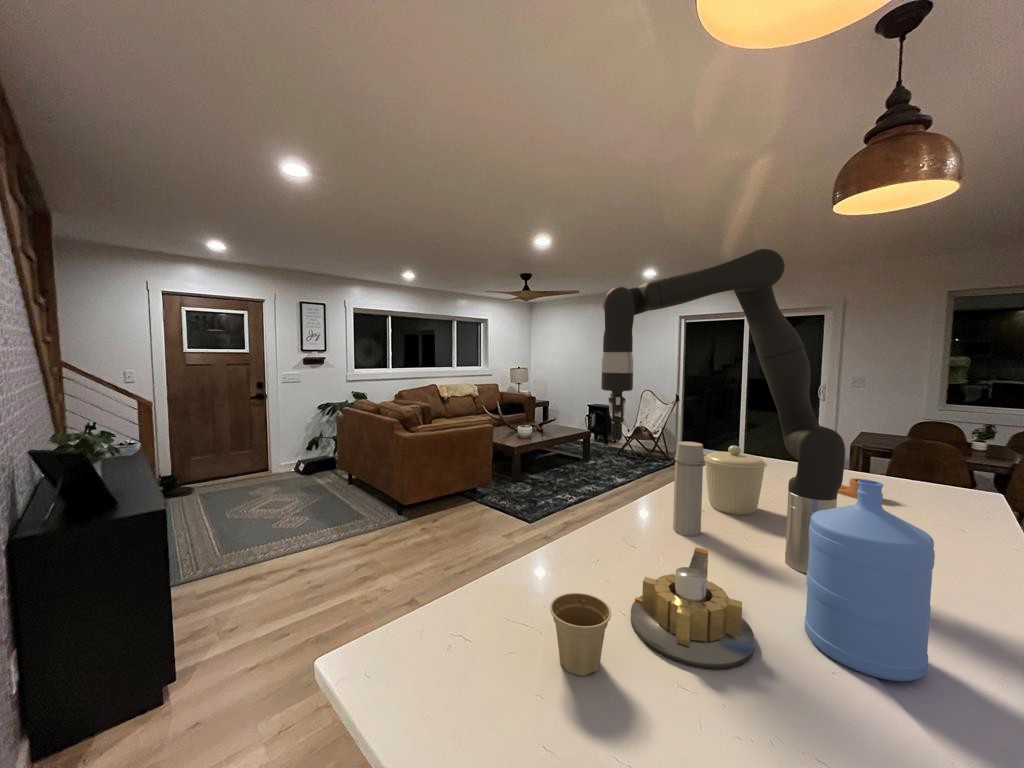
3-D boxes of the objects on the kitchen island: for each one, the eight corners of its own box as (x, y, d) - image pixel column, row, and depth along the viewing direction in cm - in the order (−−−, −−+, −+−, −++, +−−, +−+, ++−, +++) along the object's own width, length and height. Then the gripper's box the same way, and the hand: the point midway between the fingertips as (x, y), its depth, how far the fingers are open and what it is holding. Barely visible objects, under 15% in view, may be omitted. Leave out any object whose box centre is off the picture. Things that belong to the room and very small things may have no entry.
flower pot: (544, 643, 71) (545, 593, 70) (599, 640, 71) (600, 591, 71) (555, 686, 61) (556, 628, 61) (618, 682, 62) (619, 625, 62)
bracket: (885, 503, 145) (886, 483, 144) (869, 506, 142) (870, 486, 141) (829, 488, 162) (830, 471, 161) (815, 490, 159) (815, 472, 158)
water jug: (893, 698, 60) (904, 503, 58) (783, 632, 74) (790, 475, 73) (948, 667, 66) (960, 490, 64) (837, 612, 80) (845, 467, 79)
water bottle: (694, 540, 112) (697, 447, 111) (666, 531, 118) (669, 443, 117) (709, 531, 118) (712, 443, 117) (682, 523, 124) (685, 439, 123)
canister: (765, 508, 138) (768, 444, 137) (764, 525, 123) (767, 454, 122) (705, 498, 148) (707, 438, 147) (697, 513, 133) (699, 447, 132)
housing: (731, 603, 83) (733, 553, 82) (775, 678, 63) (778, 613, 63) (626, 592, 86) (627, 545, 86) (637, 660, 67) (638, 598, 66)
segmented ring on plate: (710, 576, 90) (711, 548, 89) (755, 654, 66) (756, 616, 65) (633, 569, 92) (634, 542, 92) (649, 641, 68) (650, 605, 68)
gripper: (635, 371, 96) (634, 442, 97) (630, 370, 110) (629, 432, 110) (601, 371, 97) (600, 441, 98) (601, 370, 111) (600, 431, 112)
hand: (616, 436), depth 104 cm, fingers open, 8 cm apart
